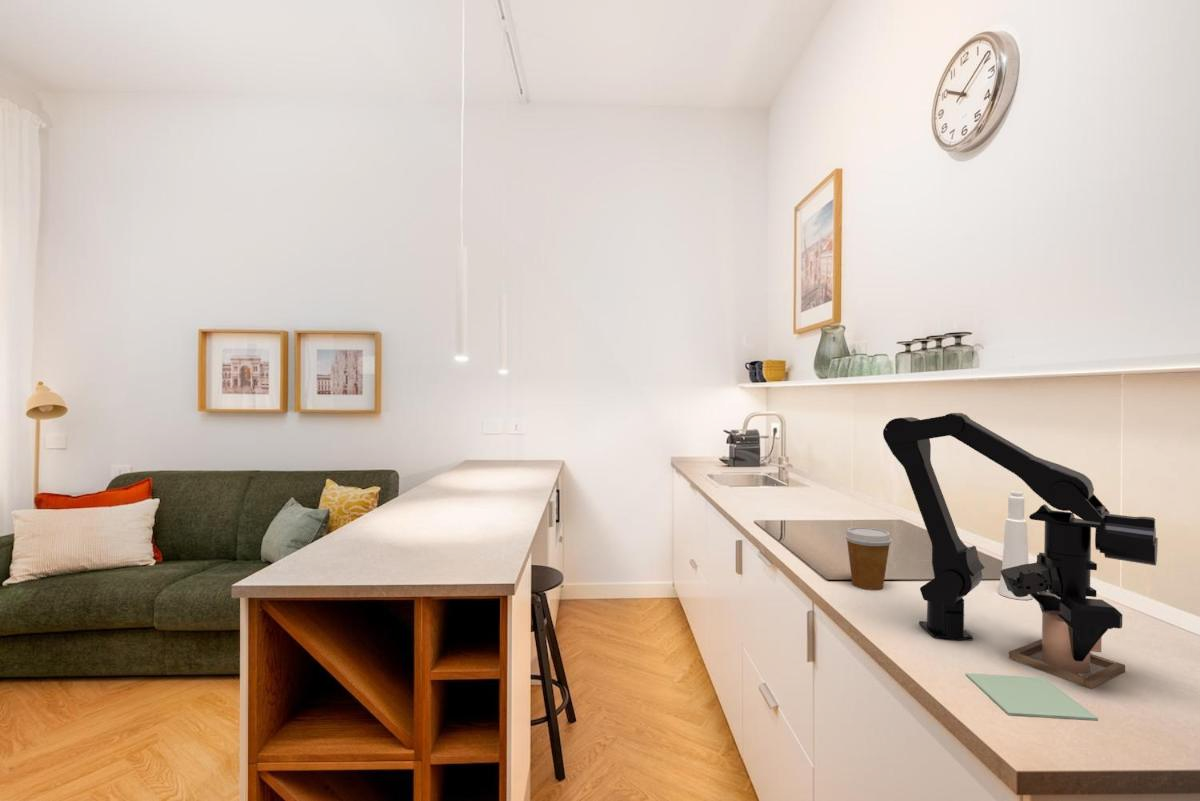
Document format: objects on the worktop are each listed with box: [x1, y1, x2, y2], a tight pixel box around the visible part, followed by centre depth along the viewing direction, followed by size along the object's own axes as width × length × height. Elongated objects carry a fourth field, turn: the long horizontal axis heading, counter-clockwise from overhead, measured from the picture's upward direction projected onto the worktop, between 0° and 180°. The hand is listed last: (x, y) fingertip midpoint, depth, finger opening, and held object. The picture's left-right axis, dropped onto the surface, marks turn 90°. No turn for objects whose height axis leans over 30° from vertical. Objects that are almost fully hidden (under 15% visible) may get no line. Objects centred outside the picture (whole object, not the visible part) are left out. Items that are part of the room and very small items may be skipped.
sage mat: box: [965, 672, 1099, 721], centre depth 83 cm, size 11×11×1 cm
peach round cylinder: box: [1041, 611, 1103, 675], centre depth 92 cm, size 7×6×8 cm
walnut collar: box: [1008, 638, 1126, 689], centre depth 92 cm, size 11×11×1 cm
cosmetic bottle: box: [997, 490, 1034, 601], centre depth 124 cm, size 6×6×22 cm
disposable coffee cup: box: [844, 526, 893, 591], centre depth 130 cm, size 10×10×12 cm
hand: (1065, 650), depth 92 cm, fingers open, 7 cm apart
